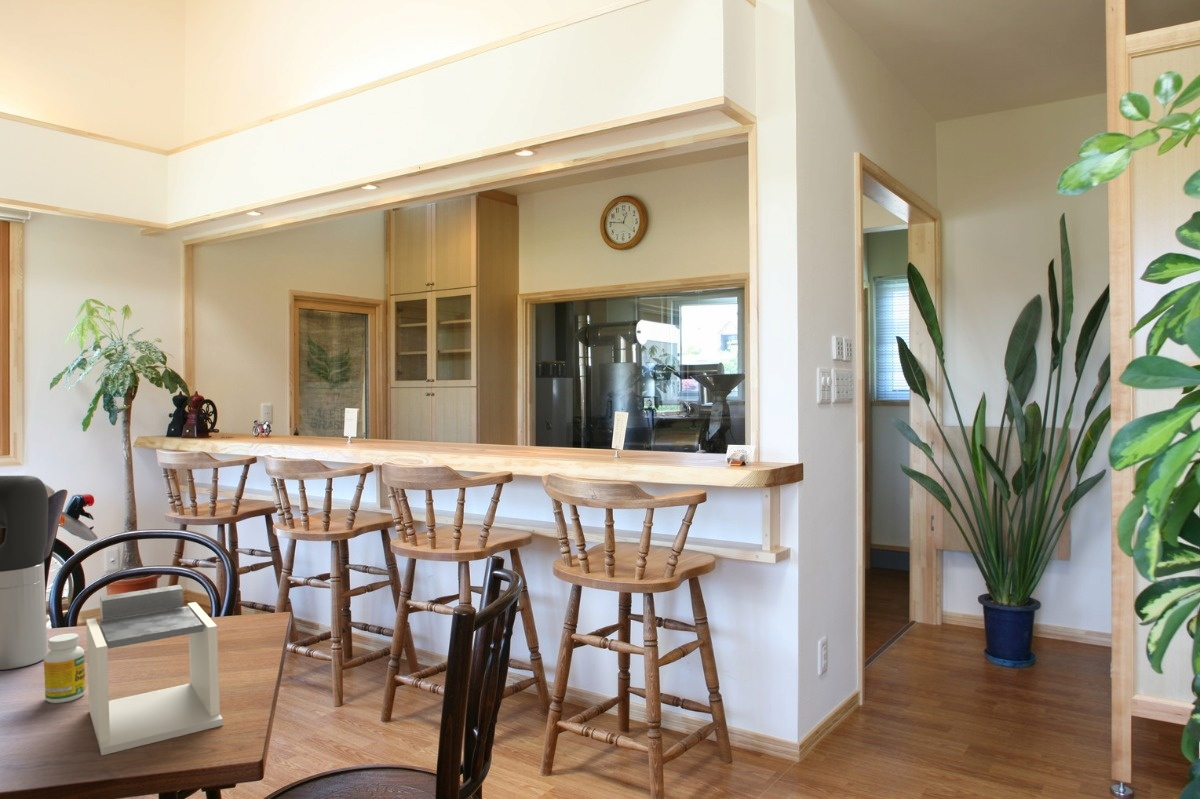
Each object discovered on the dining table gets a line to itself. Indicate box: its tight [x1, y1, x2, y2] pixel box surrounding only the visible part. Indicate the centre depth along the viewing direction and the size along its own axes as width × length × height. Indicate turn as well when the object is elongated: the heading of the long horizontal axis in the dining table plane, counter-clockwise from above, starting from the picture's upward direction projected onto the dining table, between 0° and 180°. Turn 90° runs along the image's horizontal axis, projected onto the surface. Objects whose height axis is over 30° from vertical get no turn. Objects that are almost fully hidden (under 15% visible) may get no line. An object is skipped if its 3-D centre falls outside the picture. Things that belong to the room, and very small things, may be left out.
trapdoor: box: [98, 584, 203, 650], centre depth 122 cm, size 16×12×4 cm
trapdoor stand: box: [85, 601, 224, 756], centre depth 120 cm, size 18×15×14 cm
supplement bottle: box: [43, 632, 86, 704], centre depth 129 cm, size 5×5×10 cm
